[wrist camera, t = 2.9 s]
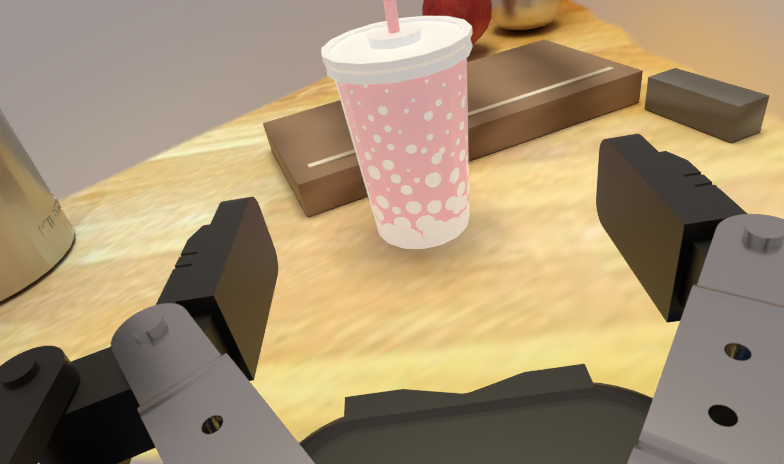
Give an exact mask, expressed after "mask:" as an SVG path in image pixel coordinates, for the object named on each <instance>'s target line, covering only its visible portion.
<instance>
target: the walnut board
mask: <svg viewBox="0 0 784 464" xmlns="http://www.w3.org/2000/svg"><path fill="white" fill-rule="evenodd" d="M642 72H643V71H642V70H638V69H635V68H632V67H629V66H626V65H623V64H620V63H616V62H613V61H610V60H607V59H604V58H601V57H597V56H594V55H591V54H588V53H585V52H582V51H578V50H575V49H572V48H569V47H566V46H563V45H559V44H556V43H553V42H550V41H547V40H540V41H537V42H534V43H530V44H527V45H524V46H520V47H517V48H514V49H510V50H507V51H504V52H500V53H497V54H493V55H490V56H487V57H483V58H480V59H477V60H473V61H470V62H467V101H468V161H470V160H473V159H476V158H479V157H482V156H485V155H488V154H491V153H493V152H496V151H499V150H502V149H505V148H508V147H511V146H514V145H517V144H519V143H522V142H525V141H528V140H531V139H534V138H537V137H540V136H542V135H545V134H548V133H551V132H554V131H557V130H560V129H563V128H566V127H568V126H571V125H574V124H577V123H580V122H583V121H586V120H589V119H591V118H594V117H597V116H600V115H603V114H606V113H609V112H612V111H615V110H617V109H620V108H623V107H626V106H629V105H632V104H635V103H638V102H639V98H640V89H641V80H642ZM768 99H769V95H766V94H762V93H759V92H755V91H752V90H749V89H745V88H742V87H738V86H735V85H731V84H728V83H724V82H721V81H718V80H714V79H711V78H707V77H704V76H701V75H697V74H694V73H690V72H687V71H684V70H680V69H677V68H674V69H671V70H668V71H665V72H662V73H659V74H656V75H653V76H650V77H648V85H647V93H646V102H645V109H646V110H649V111H651V112H654V113H656V114H659V115H661V116H664V117H667V118H669V119H672V120H674V121H677V122H679V123H682V124H684V125H687V126H690V127H692V128H695V129H697V130H700V131H702V132H705V133H707V134H710V135H713V136H715V137H718V138H720V139H723V140H725V141H728V142H730V143H732V142H735V141H737V140H740V139H742V138H745V137H747V136H750V135H753V134H755V133H758V132H760V130H761V126H762V122H763V119H764V115H765V111H766V107H767V103H768ZM263 125H264V128H265V131H266V134H267V138H268V141H269V144H270V147H271V150H272V152H273V154H274V156H275V158H276V159H277V161H278V163H279V165H280V167H281V169H282V171H283V173H284V174H285V176H286V178H287V180H288V182H289V184H290V186H291V187H292V189H293V191H294V193H295V195H296V197H297V199H298V200H299V202H300V204H301V206H302V208H303V210H304V212H305V214H306V215H307V217H309V216H312V215H315V214H318V213H321V212H324V211H326V210H329V209H332V208H335V207H338V206H341V205H344V204H347V203H349V202H352V201H355V200H358V199H361V198H364V197H367V196H368V194H367V190H366V187H365V183H364V180H363V176H362V173H361V170H360V166H359V163H358V159H357V156H356V152H355V149H354V145H353V142H352V138H351V135H350V131H349V128H348V124H347V121H346V118H345V114H344V111H343V107H342V104H341V100H339V101H336V102H333V103H329V104H326V105H323V106H319V107H316V108H313V109H309V110H306V111H303V112H299V113H296V114H293V115H289V116H286V117H282V118H279V119H276V120H272V121H269V122H266V123H263Z"/></svg>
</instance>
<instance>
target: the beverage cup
mask: <svg viewBox="0 0 784 464" xmlns="http://www.w3.org/2000/svg"><path fill="white" fill-rule="evenodd" d="M383 1H384V7H385V14H386V21H384V22H379V23H374V24H370V25H367V26H364V27H361V28H358V29H354V30H351V31H348V32H346V33H344V34H342V35H340V36H338V37H335V38H333V39H331V40H330V41H329V42H328V43H327V44H326V45H325V46H323V47H322V49H321V50H322V58H323V63H324V64H325V65H326V69H327V76H328V77H330V78H332V79H334V80H335V83H336V86H337V90H338V93H339V97H340V100H341V104H342V107H343V111H344V114H345V118H346V121H347V124H348V128H349V131H350V135H351V138H352V142H353V145H354V149H355V152H356V156H357V159H358V163H359V166H360V170H361V173H362V176H363V180H364V183H365V187H366V190H367V194H368V197H369V201H370V204H371V208H372V211H373V215H374V218H375V222H376V225H377V228H378V232H379V235H380V236H381V237H382V238H383V239H384V240H385V241H386V242H387V243H388V244H391V245H394V246H397V247H400V248H403V249H425V248H430V247H435V246H440V245H443V244H445V243H447V242H449V241H451V240H453V239H455V238H457V237H458V236H459V235H460V234H461V233H462V232H463V231H464V230H465V229H466V228H467V225H468V220H469V161H468V101H467V57H468V56H469V54H470V52H471V49H472V47H473V46H472V42H471V39H470V38H471V36H472V26H471V25H470V24H469V23H468V22H467V21H466V20H464V19H459V18H455V17H450V16H418V17H408V18H399V19H398V13H397V6H396V0H383Z"/></svg>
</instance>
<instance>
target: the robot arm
mask: <svg viewBox="0 0 784 464" xmlns="http://www.w3.org/2000/svg"><path fill="white" fill-rule="evenodd" d="M596 205H597V212H598V216H599V220H600V222H601V224H602V226H603V228H604V229H605V231H606V232H607V234H608V235H609V237H610V238H611V240H612V241H613V243H614V244H615V246H616V247H617V249H618V250H619V252H620V253H621V255H622V256H623V258H624V259H625V261H626V262H627V264H628V265H629V266H630V268H631V269H632V271H633V272H634V274H635V275H636V277H637V278H638V280H639V281H640V283H641V284H642V286H643V287H644V289H645V290H646V292H647V293H648V295H649V296H650V298H651V299H652V301H653V302H654V304H655V305H656V307H657V308H658V310H659V311H660V313H661V314H662V316H663V317H664V319H665V320H666V322H674V321H680V323H679V326H678V329H677V332H676V335H675V338H674V340H673V343H672V346H671V349H670V352H669V355H668V358H667V360H666V363H665V366H664V369H663V372H662V375H661V378H660V380H659V383H658V386H657V389H656V392H655V395H654V398H651V397H649V396H647V395H644V394H641V393H639V392H636V391H633V390H630V389H626V388H622V387H619V386H614V385H608V384H603V383H594V382H592V380H591V377H590V375H589V373H588V371H587V368H586V366H585V364H579V365H572V366H565V367H558V368H551V369H544V370H537V371H529V372H524V373H521V374H518V375H516V376H513V377H510V378H508V379H505V380H502V381H499V382H497V383H494V384H491V385H489V386H486V387H483V388H481V389H478V390H475V391H473V392H469V393H464V394H458V393H445V392H432V391H419V390H406V389H401V390H393V391H386V392H379V393H372V394H365V395H358V396H350V397H345V411H344V417H341V418H339V419H336V420H334V421H332V422H330V423H328V424H326V425H324V426H323V427H321V428H319V429H318V430H316V431H315V432H313V433H312V434H310V435H309V436H308V437H306V438H305V439H304V440H303V441H301V442H300V443H298V442H297V440H296V439H295V438H294V437H293V435H292V434H291V433H290V432H289V430H288V429H287V428H286V427H285V425H284V424H283V423H282V422H281V420H280V419H279V418H278V417H277V415H276V414H275V413H274V412H273V410H272V409H271V408H270V407H269V405H268V404H267V403H266V402H265V400H264V399H263V398H262V397H261V395H260V394H259V393H258V392H257V390H256V389H255V388H254V387H253V385H252V384H251V383H250V382H249V381H252V380H254V377H255V373H256V368H257V364H258V360H259V355H260V351H261V346H262V342H263V338H264V333H265V329H266V324H267V320H268V315H269V311H270V307H271V302H272V298H273V293H274V289H275V285H276V280H277V276H278V261H277V255H276V251H275V248H274V245H273V242H272V240H271V237H270V234H269V231H268V229H267V226H266V223H265V220H264V217H263V215H262V212H261V209H260V206H259V204H258V202H257V200H256V199H255V198H254V197H247V198H241V199H235V200H229V201H223V202H221V203H220V204H219V206H218V209H217V211H216V213H215V215H214V217H213V220H212V222H211V224H209V225H203V226H202V227H201V228H200V229H199V230H198V231H197V232H196V233H195V234H193V235H192V236H191V237H190V238H189V239H188V241H187V243H186V245H185V247H184V249H183V251H182V253H181V257H179V259H178V261H177V263H176V265H175V269H173V271H172V273H171V275H170V277H169V279H168V281H167V283H166V285H165V287H164V289H163V291H162V293H161V295H160V297H159V299H158V301H157V303H156V305H155V306H151V307H149V308H146V309H144V310H142V311H140V312H138V313H136V314H135V315H133V316H132V317H130V318H129V319H127V320H126V321H125V322H124V323H123V324H122V325H121V326H120V327H119V328H118V329H117V331H116V332H115V334H114V336H113V338H112V341H111V347H109V348H106V349H103V350H101V351H98V352H95V353H93V354H90V355H87V356H85V357H82V358H79V359H77V360H74V361H70V360H69V359H68V357H67V356H66V355H65V353H64V352H63V351H62V350H61V349H60V348H58V347H55V346H41V347H37V348H33V349H30V350H27V351H25V352H23V353H21V354H19V355H17V356H15V357H13V358H11V359H10V360H8V361H7V362H5V363H4V364H2V365H1V366H0V464H38V462H39V463H40V464H130V461H131V458H132V457H134V456H137V455H139V454H141V453H144V452H146V451H148V450H151V449H153V448H156V449H157V451H158V453H159V455H160V457H161V459H162V461H163V463H164V464H784V219H781V218H778V217H774V216H769V215H761V214H747V213H746V212H745V211H744V210H743V209H742V208H740V207H739V206H738V205H737V204H736V203H735V202H734V201H733V200H732V199H730V198H729V197H728V196H727V195H726V194H725V193H724V192H723V191H721V190H720V189H719V188H718V187H717V186H716V185H712V182H711V181H710V180H709V179H708V178H707V177H706V176H705V175H701V172H700V171H699V170H698V169H697V168H696V167H694V166H693V165H692V164H691V163H690V162H689V161H688V160H686V159H684V158H681V157H679V156H676V155H674V154H672V153H669V152H667V151H663V152H658V151H657V150H656V149H655V148H654V147H653V146H652V145H651V144H650V143H649V142H648V141H647V140H646V139H645V138H644V137H643V136H641V135H640V134H633V135H627V136H621V137H615V138H609V139H604V140H603V141H602V142H601V145H600V149H599V163H598V179H597V195H596ZM73 239H74V229H73V228H72V226H71V224H70V223H69V221H68V219H67V218H66V216H65V214H64V212H63V211H62V209H61V206H60V205H59V202H58V201H57V199H56V198H55V196H54V195H53V194H52V193H51V191H50V190H49V188H48V186H47V185H46V183H45V181H44V180H43V178H42V176H41V175H40V173H39V172H38V170H37V168H36V166H35V165H34V163H33V161H32V160H31V158H30V157H29V155H28V153H27V152H26V150H25V149H24V147H23V145H22V144H21V142H20V140H19V139H18V137H17V135H16V134H15V132H14V131H13V129H12V127H11V126H10V124H9V122H8V121H7V119H6V117H5V116H4V114H3V113H2V111H1V109H0V301H2V300H4V299H6V298H7V297H9V296H11V295H13V294H15V293H17V292H18V291H20V290H22V289H23V288H25V287H26V286H28V285H29V284H31V283H33V282H34V281H36V280H37V279H38V278H40V277H41V276H42V275H43V274H45V273H46V272H47V271H49V270H50V269H51V268H52V267H53V266H54V265H55V264H56V263H57V262H58V261H59V260H60V259H61V258H62V257H63V256H64V255H65V253H66V252H67V251H68V249H69V248H70V247H71V244H72V242H73Z"/></svg>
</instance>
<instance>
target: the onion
mask: <svg viewBox="0 0 784 464" xmlns="http://www.w3.org/2000/svg"><path fill="white" fill-rule="evenodd" d="M491 12H492V2H491V0H424V3H423V16H450V17H455V18H459V19H464V20H466V21H467V22H468V23H469V24H470V25H471V26H472V36H471V38H470V39H471V42H472V45H473V44H474V43H475V42H476V41H477V40H478V39H479V38H480V37H481V36H482V35H483V33H484V32H485V31H486V29H487V28H488V25H489V22H490V19H491Z"/></svg>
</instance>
